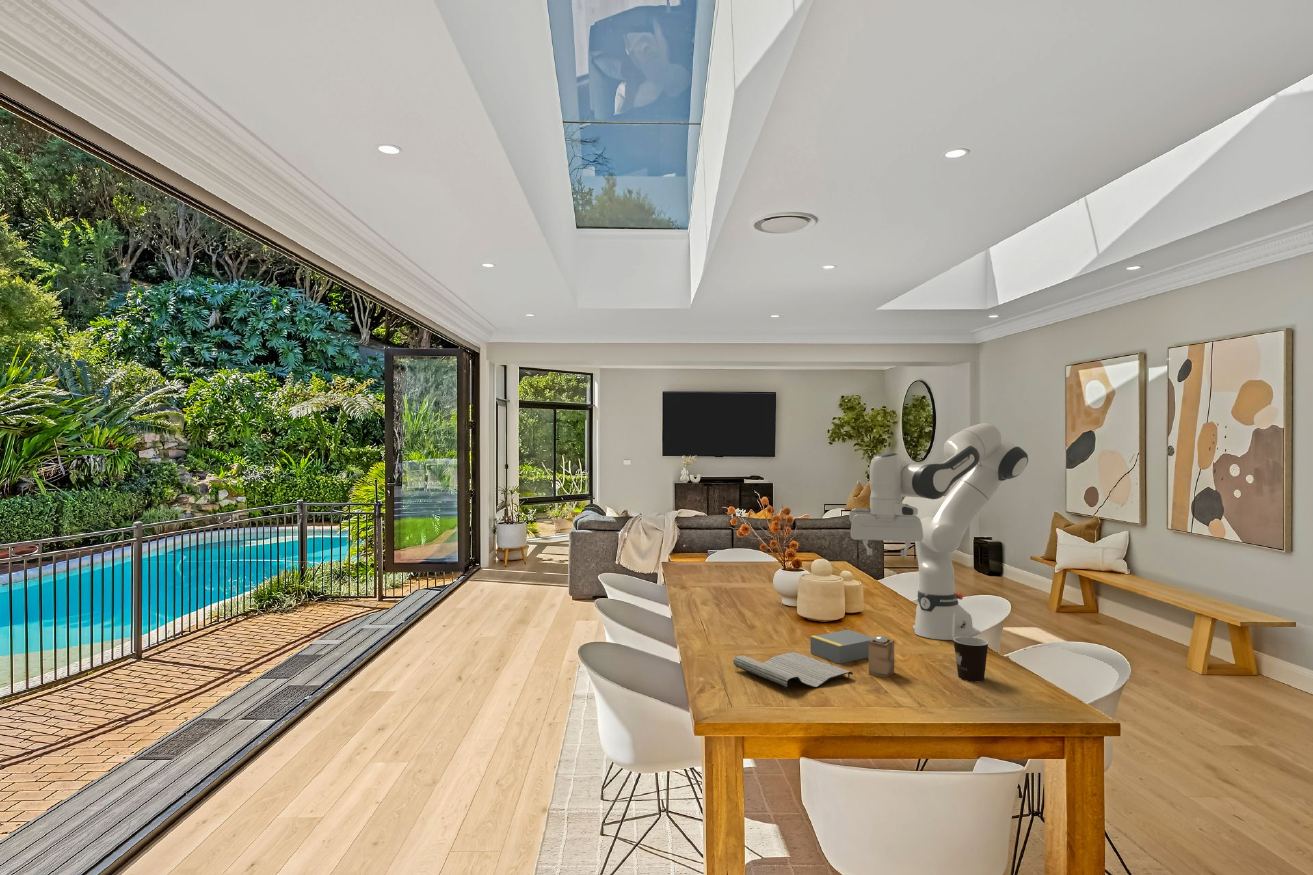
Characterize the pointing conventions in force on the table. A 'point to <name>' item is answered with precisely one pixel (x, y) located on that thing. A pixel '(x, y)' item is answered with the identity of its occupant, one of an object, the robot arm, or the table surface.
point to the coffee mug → (970, 658)
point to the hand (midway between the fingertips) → (886, 555)
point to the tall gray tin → (881, 658)
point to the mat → (791, 669)
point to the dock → (841, 646)
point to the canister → (881, 639)
